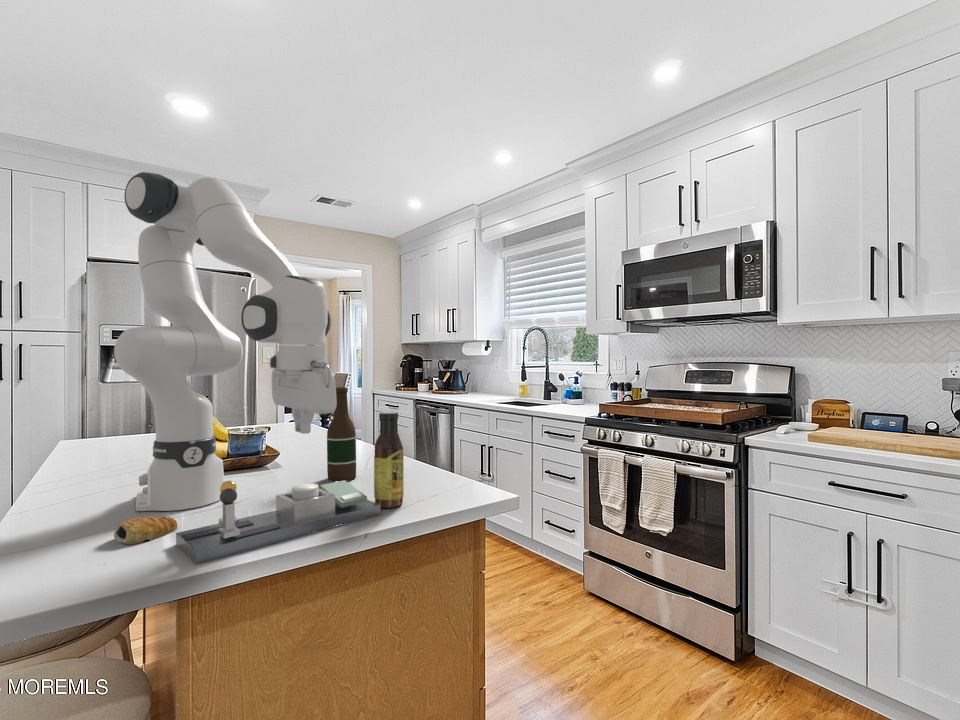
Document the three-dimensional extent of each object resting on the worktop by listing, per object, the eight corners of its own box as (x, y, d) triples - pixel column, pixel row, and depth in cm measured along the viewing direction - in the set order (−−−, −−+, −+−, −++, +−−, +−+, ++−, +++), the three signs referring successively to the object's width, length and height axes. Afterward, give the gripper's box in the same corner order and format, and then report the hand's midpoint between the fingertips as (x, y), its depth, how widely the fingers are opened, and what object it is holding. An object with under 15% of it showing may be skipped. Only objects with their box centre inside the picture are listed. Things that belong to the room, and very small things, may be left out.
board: (176, 544, 86) (175, 512, 86) (350, 502, 109) (350, 477, 109) (196, 564, 78) (195, 528, 78) (380, 514, 101) (380, 487, 101)
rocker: (319, 489, 103) (320, 483, 103) (344, 484, 107) (344, 478, 107) (341, 507, 97) (342, 501, 96) (366, 501, 101) (367, 495, 100)
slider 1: (217, 523, 88) (217, 480, 88) (233, 520, 90) (232, 478, 90) (224, 527, 86) (223, 483, 86) (239, 524, 88) (239, 481, 88)
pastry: (166, 525, 97) (166, 506, 96) (185, 532, 93) (185, 511, 93) (110, 541, 89) (109, 519, 89) (128, 549, 85) (128, 526, 85)
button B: (288, 509, 96) (287, 487, 96) (311, 504, 99) (311, 482, 99) (299, 515, 93) (298, 491, 93) (323, 509, 96) (322, 486, 96)
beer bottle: (321, 481, 129) (319, 388, 128) (334, 474, 136) (333, 386, 136) (349, 482, 127) (348, 388, 127) (362, 475, 135) (360, 386, 135)
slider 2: (217, 533, 83) (216, 488, 83) (233, 529, 85) (233, 485, 85) (223, 538, 81) (223, 491, 81) (240, 534, 83) (239, 488, 83)
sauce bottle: (397, 510, 104) (396, 414, 104) (369, 508, 105) (368, 414, 105) (408, 501, 110) (407, 411, 110) (381, 499, 111) (380, 410, 111)
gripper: (345, 362, 91) (345, 438, 91) (296, 359, 105) (295, 424, 106) (312, 362, 86) (312, 442, 87) (265, 359, 101) (265, 427, 101)
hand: (302, 432), depth 96 cm, fingers closed
